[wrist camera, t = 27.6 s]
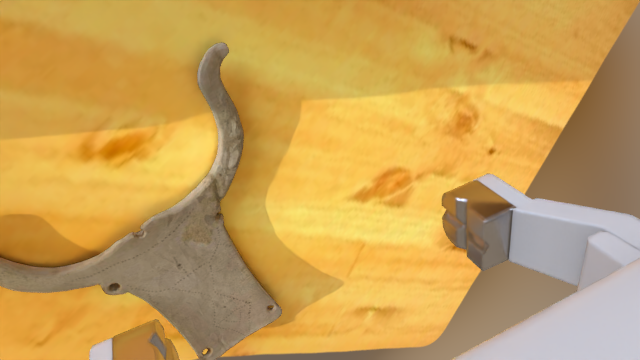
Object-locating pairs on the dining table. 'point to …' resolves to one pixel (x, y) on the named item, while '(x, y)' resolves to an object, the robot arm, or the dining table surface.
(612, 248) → the robot arm
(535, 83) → the dining table surface
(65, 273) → the decorative wall piece
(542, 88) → the dining table surface
